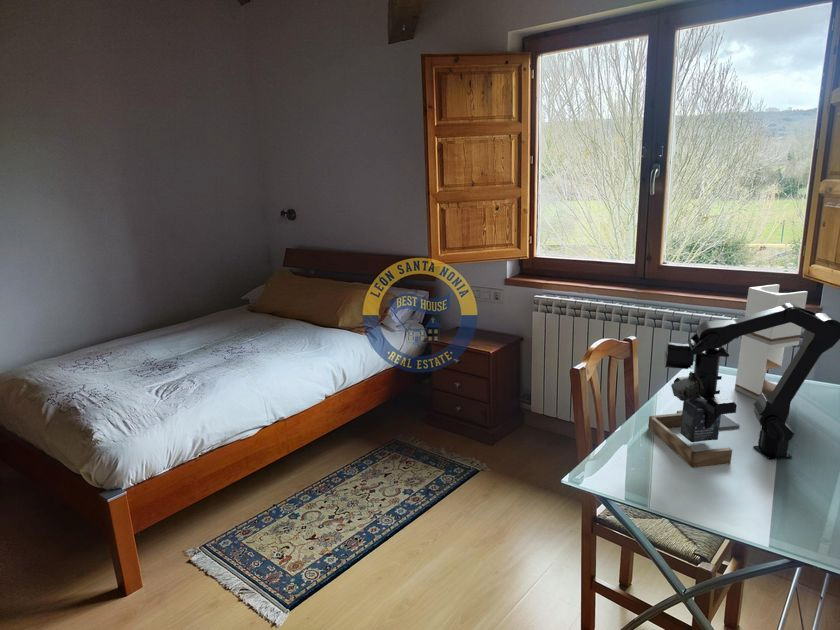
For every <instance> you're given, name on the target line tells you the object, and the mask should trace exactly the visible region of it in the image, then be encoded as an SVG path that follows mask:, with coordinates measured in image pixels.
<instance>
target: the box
mask: <svg viewBox="0 0 840 630" xmlns="http://www.w3.org/2000/svg"><path fill="white" fill-rule="evenodd" d="M682 402H683V403H682V410H683V411H682V420H681V427H680V428H679V430H680V431H679V434H680V435H681V436H682V437H684V438H685V439H687V440H688V441H689V442H690V443H698V442H707V441H717V440H718V439H719V435H720V434H719V432H720V430H719V426H720V418H721V415H720V416H719V417H718V418H717V419H716V421H715V422H714V423H713V425H712V426H711V427H710V428H709V429H706V428H705V411H704V410H703V409H702V408H701V407H703V406H706V402H707V400H705V399H702V398H693V399H691V400H690V399H688V400H686V401H682Z"/></svg>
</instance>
